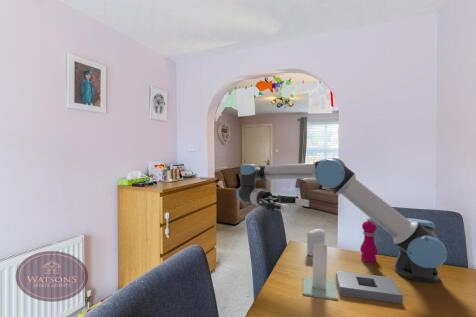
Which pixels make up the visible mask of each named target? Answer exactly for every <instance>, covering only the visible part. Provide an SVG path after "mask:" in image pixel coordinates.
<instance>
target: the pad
mask: <svg viewBox="0 0 476 317" xmlns="http://www.w3.org/2000/svg"><path fill="white" fill-rule="evenodd" d="M302 279H303V281H302V295H303V296H309V297H316V298H323V299H328V300H335V301H336V300H337V301H339V296H338V291H337V286H336V282H335V280H334V279H333V280H331V279H327V278H326V289H325V290H317V289H315V288H314V287H313V286H312V276H311V277H309V276H302Z"/></svg>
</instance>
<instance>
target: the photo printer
mask: <svg viewBox="0 0 476 317" xmlns="http://www.w3.org/2000/svg"><path fill="white" fill-rule="evenodd" d="M324 230H325V229H322V228H315V229H312V230H309V232H308V233H307V238H306V239H307V240H306V254H307V255H308V256H310V257H313V244H314V243H322V244H325V245H326V243H325V242H326V241H325V240H326V233H325V231H324Z"/></svg>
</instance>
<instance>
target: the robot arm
mask: <svg viewBox="0 0 476 317" xmlns="http://www.w3.org/2000/svg"><path fill="white" fill-rule="evenodd" d="M345 164H346V163H344V161H342V160H341V159H339V158H336V157H329V158H324V159H319V160H314V162H305V163H290V164H288V163H287V164H275V165H274V164H273V165H271V164H270V165H256V164H254V163H244V164H241V165H240V170H239V171H240V187H238V188H237V190H236V198H237V199H238V200H239V201H241V202H243V203H248V204H252V205H256V207H258V206H259V207H263V208H265V209H266V210H271V211H272V212H274V211H275V210H277V211H280V212H284V213H289V212H290V211H289V210H290V207H289V206H290V205H289V204H295V205H297V206H302V207H307V208H309V207H310V200H309V199H305V198H304V199H303V198H299V196H298V195H295V196H293V195H292V196H291V195H289V196H288V195H280V194H279V195H274V194H272V192H271V191H269V190H263V189H260V188H258V189H257V188H256V181H262V180H263V181H265V180H291V179H292V180H293V179H294V180H295V179H298V180H299V179H315V180H316V181H317V183H319V185H321V186H323V187H324V188H327V189H329V190H330V191H331V192H332V193H333V194H335V195H342V196H343V197H344V198H345V199H346V200H348V201H349V202H350V203H351V204H352V205H354V206H355V207H356V208H357V209H358V210H360V211H361V212H362V213H364V214H365V215H366V216H367V217H368V218H370V219H371V221H372V222H373V223H375V224H377V225H378V226H379V227H381V228H382V229H383V230H384V231H385V232H387V233H388V234H389V235H390V236H391V237H392V242H393V243H394V245H396V246H397V247H398V248H399V253H398V255H397V257H396V259H395V262H394V267H393V268H394V271H395V272H396V273H397V274H399V275H400V276H402V277H404V278H406V279H409V280H412V281H415V282H419V283H429V284H430V283H436V282H438V281H439V277H440V276H439V274H440V273H439V271H438V269H437V268H438V267H440V266H442V265H444V263H445V262H446V261H447V259H448V251H447V247H446V246H445V243H444V242H443V241H442V240H440V238H439V237H438V236H437V235H436V234H435V231H436V226H435V223H434V222H432V221H430V220H425V219H418V218H412V217H411V218H409V217H405V216H404V215H403V214H401V213H400V212H399V211H397V210H396V209H395V208H393V207H392V205H390V204H389V203H388V202H386V201H385V200H383V199H382V198H381V197H380V196H378V195H377V194H376V193H375V192H373V191H372V190H370V189H369V188H368V187H366V185H365V184H363V183H361V182H360V181H359V180H358V179H357V178H356V172H354V171H352V170H351V169H350V168H349V167H347V166H346V165H345Z"/></svg>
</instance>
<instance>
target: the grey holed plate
mask: <svg viewBox="0 0 476 317" xmlns="http://www.w3.org/2000/svg"><path fill="white" fill-rule="evenodd" d="M335 280H336V284H337V288H338V292H339V296H345V297H353V298H359V299H360V298H361V299H365V300H374V301H380V302H388V303H393V304H394V303H395V304H400V305H403V302H404V300H403V299H404V298H403V296H404V295H403V293H402V292H401V290H400V289H399V287H398V285H397V284H396V283H395V281H394V280H393V278H392V277H391V276H382V275H374V274H366V273H359V272H358V273H357V272H350V271H342V270H336V271H335Z"/></svg>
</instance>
